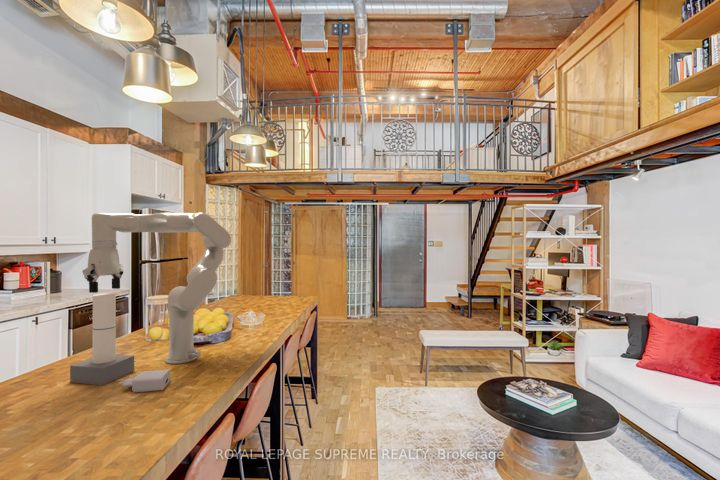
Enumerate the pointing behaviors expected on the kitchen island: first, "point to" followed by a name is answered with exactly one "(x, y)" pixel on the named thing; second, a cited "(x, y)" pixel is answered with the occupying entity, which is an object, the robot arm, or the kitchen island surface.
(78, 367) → the charcoal block
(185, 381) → the kitchen island surface
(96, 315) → the cylindrical container
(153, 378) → the charger
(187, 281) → the robot arm
